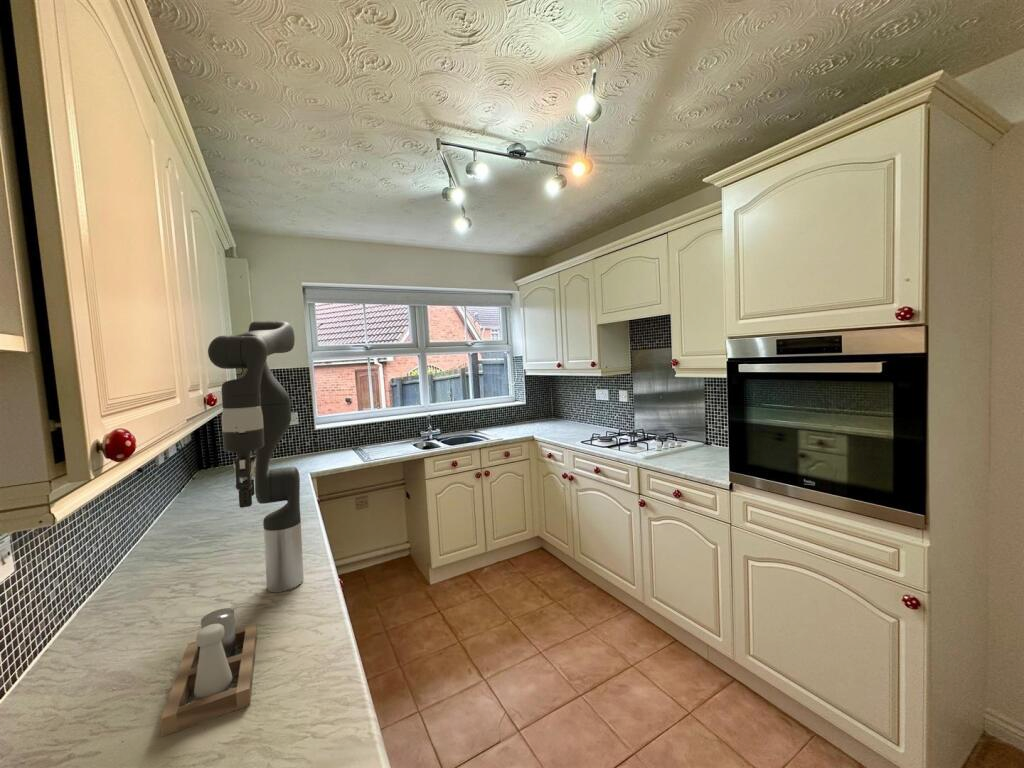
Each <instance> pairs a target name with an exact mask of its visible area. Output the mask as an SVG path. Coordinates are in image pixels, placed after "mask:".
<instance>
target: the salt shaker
mask: <svg viewBox="0 0 1024 768" xmlns="http://www.w3.org/2000/svg"><path fill="white" fill-rule="evenodd" d="M223 637H224V626H223V625H221V624H211V625H208V626H206V627H204V628H202V629H201V628H200V629H199V631H198V632H197V633H196V635H195V641H196V645H197V646H199V647H200V653H199V660H198V664H197V667H198V668H197V675H196V681H195V687H194V690H193V691H194V692H193V694H194V697H195V698H196V700H197V701H198V700H201V699H204V698H207V697H209V696H212V695H215V694H218V693H221V692H224V691H227V690H230V688H231V684H232V683H233V677H232V673H231V670H230V667H229V664H228V661H227V658H226V655H225V652H224V648H223V645H222V642H221V639H222V638H223Z"/></svg>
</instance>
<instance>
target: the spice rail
mask: <svg viewBox="0 0 1024 768" xmlns="http://www.w3.org/2000/svg"><path fill="white" fill-rule="evenodd" d="M257 628H258V627H257V624H252V625H249V626H246V627H242V628H239V629H235V635H236V648H238V647H241V646H242V651H241V653H238V654H237V655H235V656H232V657H229V658H227V661H228V664H229V667H230V670H231V673H232V678H234V677H236V676H238V678H237V685H236V687H233V688H231V689H230V688H229V690H227V691H224V692H221V693H218V694H215V695H212V696H209V697H207V698H204V699H201V700H198V699H197V700H195V701H192V702H190V703H187V700H188V697H189V694H190V691H194V687H195V681H196V675H197V668H198V660H199V653H200V647H199V646H197V645H196V640H195V641H191V642H189V643H187V644H186V645H187V646H186V648H185V652H184V654H183V657H182V660H181V662H180V665H179V667H178V670H177V673H176V676H175V678H174V681H173V684H172V687H171V689H170V693H169V696H168V698H167V701H166V704H165V706H164V710H163V712H162V715H161V718H160V724H161V736H162V737H164V736H167V735H169V734H173V733H176V732H178V731H182V730H184V729H186V728H189V727H193V726H194V725H197V724H200V723H203V722H206V721H209V720H212V719H215V718H217V717H219V716H223V715H226V714H229V713H230V712H231V713H232V712H234V711H237V710H239V709H242V708H245V707H249V706H251V701H252V694H253V693H252V691H253V690H252V689H253V681H254V671H255V663H256V662H255V661H256V651H257V643H258V631H257V630H258V629H257ZM186 703H187V704H186Z"/></svg>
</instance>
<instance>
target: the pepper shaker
mask: <svg viewBox="0 0 1024 768" xmlns="http://www.w3.org/2000/svg"><path fill="white" fill-rule="evenodd" d="M235 622H236V621H235V609H234V608H229V607H228V608H227V607H224V608H220V609H216V610H214V611H211V612H209V613H207V614H206V615H205V616H203V617H202V619H200V626H201V627H200V630H201V629H202V628H204V627H206V626H208V625H211V624H221V625H223V626H224V637H223V638H222V639H221V642H222V645H223V648H224V652H225V655H226V658H229V657H232V656H235V655H238V654H237V647H236V635H235V630H236V623H235Z"/></svg>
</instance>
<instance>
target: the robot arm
mask: <svg viewBox="0 0 1024 768" xmlns="http://www.w3.org/2000/svg"><path fill="white" fill-rule="evenodd" d="M295 340H296V338H295V333H294V328H293V327H292V325H291V324H290V323H289V322H287V321H284V320H283V321H282V320H263V321H262V320H261V321H259V320H258V321H257V320H256V321H255V320H254V321H252V322H250V324H249V327H248V330H247V332H243V333H241V334H228V335H219V336H217V337H215V338H214V339H213V340H211V342H210V343H209V345H208V348H207V356H208V358H209V360H210V362H211V364H213V365H214V366H215V367H217V368H219V369H224V370H226V369H227V370H235V369H237V370H238V369H247V370H246V372H245V374H244V375H243V376H242V377H239V378H235V379H230V380H226V381H225V382H223V383H222V385H221V403H222V404H221V405H222V413H221V429H222V444H223V445H222V447H223V451H224V452H226V453H236V455H237V456H236V457H234V459H233V465H232V466H233V468H234V480H235V489H236V490H237V491H238V505H239V508H241V509H243V508H249V507H251V506H252V505H253V496H254V495H255V498H256V501H257V503H258V504H262V505H264V504H265V505H266V504H272V503H278V502H285V501H286V503H285V505H283V506H282V507H279V508H278V509H277V510H275V511H273V512H271V513H268V514H267V515H265V517H264V518H263V522H262V523H263V525H262V526H263V538H264V539H263V540H264V541H263V542H264V557H265V558H264V559H265V577H266V578H265V579H266V589H267V591H268V592H271V593H283V592H287V591H289V589H290V590H292V588H293V589H295V588H297V587H299V586H300V585H301V584H302V583H303V582H304V580H305V579H304V557H303V535H302V522H301V521H302V519H301V507H300V506H301V503H300V502H301V501H300V500H301V499H300V496H301V494H300V493H301V491H300V490H301V489H300V488H301V482H300V481H301V479H300V472H299V470H298V468H297V467H295V466H287V467H279V468H271V469H269V466H270V465H269V464H270V461H271V458H272V456H273V453H274V451H275V449H276V447H277V445H278V443H280V441H281V439H282V437H283V436H284V435H285V434H286V432H287V430H288V429H289V426H290V424H291V421H292V407H291V405H292V403H291V397H290V395H289V394H288V392H287V390H286V389H285V388H284V387H283V385H282V384H281V383H280V382H279V381H278V379H277V378H276V377H275V375H274V374H273V372H272V371H271V369H270V367H269V365H268V362H267V358H268V357H269V356H270V355H274V354H284V353H288V352H291V351H292V350H293V349H294V347H295V343H296V342H295ZM254 453H255V454H254ZM303 579H304V580H303ZM302 581H303V582H302ZM301 582H302V583H301ZM300 583H301V584H300ZM299 584H300V585H299ZM298 585H299V586H298ZM296 586H297V587H296ZM294 587H295V588H294ZM286 590H287V591H286ZM282 591H283V592H282Z"/></svg>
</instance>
